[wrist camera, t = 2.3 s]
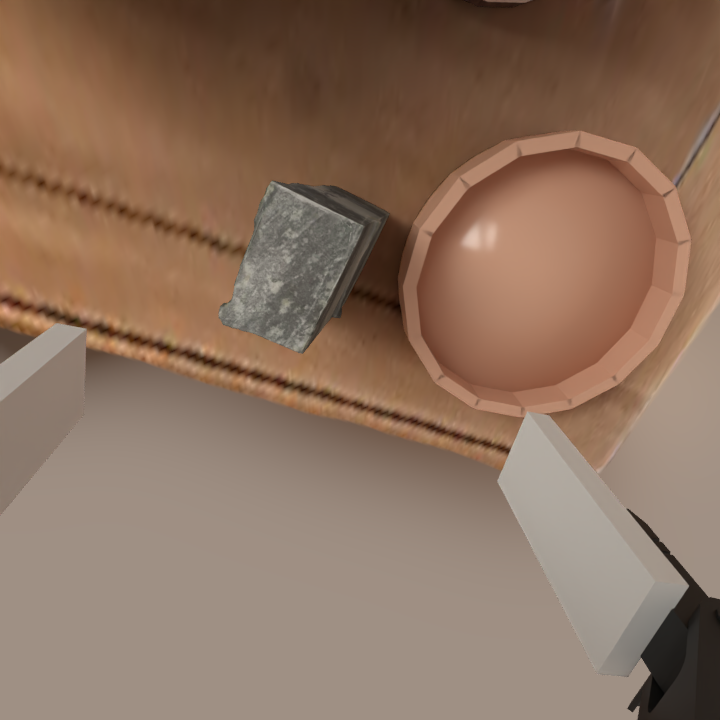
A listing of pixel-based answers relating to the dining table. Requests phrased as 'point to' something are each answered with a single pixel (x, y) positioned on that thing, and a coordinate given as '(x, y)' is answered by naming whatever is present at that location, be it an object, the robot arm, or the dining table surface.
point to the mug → (496, 3)
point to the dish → (543, 272)
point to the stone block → (301, 262)
